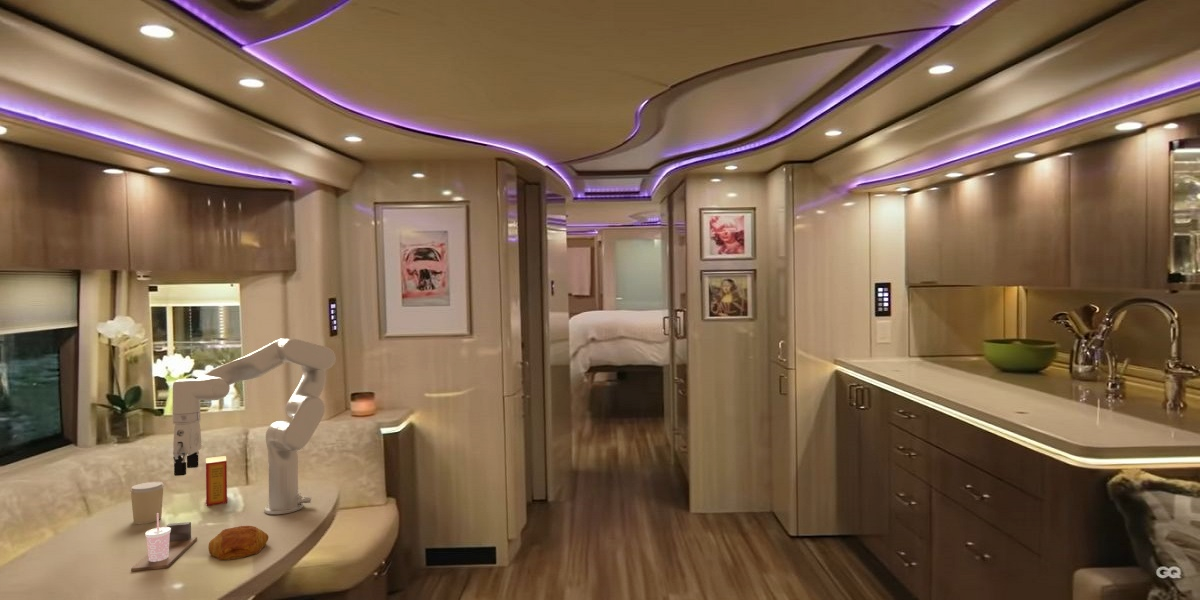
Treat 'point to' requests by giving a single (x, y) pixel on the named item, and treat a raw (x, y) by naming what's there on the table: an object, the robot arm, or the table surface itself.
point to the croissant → (237, 542)
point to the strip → (170, 547)
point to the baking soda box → (216, 480)
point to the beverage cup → (158, 542)
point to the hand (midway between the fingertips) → (186, 471)
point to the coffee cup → (147, 501)
